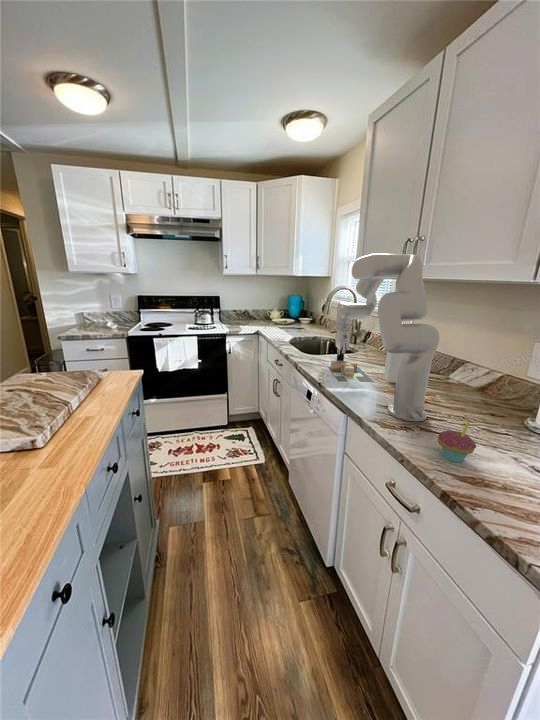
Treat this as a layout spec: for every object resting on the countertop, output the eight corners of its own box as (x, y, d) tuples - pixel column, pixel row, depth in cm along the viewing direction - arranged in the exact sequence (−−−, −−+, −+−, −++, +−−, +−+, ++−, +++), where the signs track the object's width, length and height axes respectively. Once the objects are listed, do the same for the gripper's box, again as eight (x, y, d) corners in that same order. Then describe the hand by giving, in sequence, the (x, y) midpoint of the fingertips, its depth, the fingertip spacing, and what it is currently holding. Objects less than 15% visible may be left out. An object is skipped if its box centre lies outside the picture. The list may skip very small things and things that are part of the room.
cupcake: (477, 460, 78) (487, 418, 75) (462, 471, 74) (472, 427, 70) (443, 445, 85) (451, 406, 82) (428, 454, 80) (436, 413, 77)
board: (373, 384, 132) (374, 381, 132) (338, 383, 132) (338, 381, 131) (358, 369, 153) (358, 367, 153) (327, 368, 153) (327, 366, 152)
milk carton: (398, 380, 138) (404, 340, 133) (403, 385, 132) (410, 343, 126) (383, 379, 139) (388, 339, 134) (387, 384, 132) (393, 343, 127)
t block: (361, 376, 139) (362, 368, 138) (336, 375, 139) (337, 367, 137) (354, 368, 150) (355, 360, 149) (330, 368, 150) (331, 360, 149)
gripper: (355, 329, 143) (351, 366, 148) (346, 324, 157) (343, 357, 162) (339, 329, 143) (336, 366, 148) (332, 324, 157) (329, 357, 162)
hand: (340, 361), depth 155 cm, fingers closed
